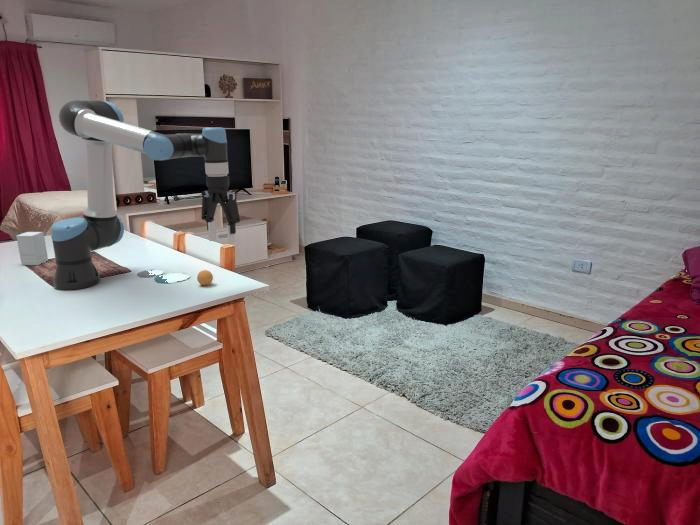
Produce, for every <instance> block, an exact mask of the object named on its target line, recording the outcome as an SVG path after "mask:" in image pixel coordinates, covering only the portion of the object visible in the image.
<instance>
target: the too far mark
mask: <svg viewBox="0 0 700 525" xmlns="http://www.w3.org/2000/svg"><path fill="white" fill-rule="evenodd" d="M150 270H151V271H152V270H153V269H150ZM149 274H150V273H149V272H148V271H146V270H141V271H139V272H137V273H136V276H137V277H138V276H139V278H154V277H153V276H156V275H155V274H154V275H149ZM151 274H152V273H151ZM156 277H157V276H156Z"/></svg>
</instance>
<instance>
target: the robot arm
mask: <svg viewBox="0 0 700 525" xmlns="http://www.w3.org/2000/svg"><path fill="white" fill-rule="evenodd" d="M58 119H59V120H58V121H59V123H60V126H61V127H62V128H63V130H64V131H66V132H67V133H68V134H71V135H73V136H76V137H79V138H81V139H82V140H83V142H84V143H85V146H86V147H85V148H86V151H85V154H86V184H87V185H86V188H87V189H86V190H87V196H86V197H87V209H85V210H84V211H83V212H82V213H83V214H82V215H83V216H82V217H70V218H64V219H61V220H59V221H56V222H55V223H53V224H52V225H51V227H50V229H51V231H50V232H51V237H50V238H51V240H52V246H53V253H54V259H55V265H56V266H55V271H54V274H53V275H54V276H53V287H54V289H57V290H62V291H72V290H81V289H86V288H90V287H93V286H96V285H98V284H100V282H101V277H100V276H101V275H100V274H99V272H98V270H97V268H96V266H95V264H94V262H93V259H92V252H94V251H97V250H100V249H103V248H108V247H111V246H113V245H116V244H118V243H119V242H120V241H121V240H122V238H123V236H124V233H125V226H124V222H122V219H121V218H120V217H119V216H118V212H117V211H116V210H115V209H114V207H113V206H114V200H113V199H114V197H113V196H114V188H113V187H114V186H113V184H114V183H113V182H114V181H113V180H114V179H113V177H114V176H113V174H114V173H113V170H114V169H113V168H114V167H113V165H114V164H113V145H115V146H120V147H122V148H126V149H129V150H133V151H136V152H138V153H142V154H145V155H146V156H147V157H148V158H149V159H151V160H152V161H162V162H163V161H167V160H172V159H181V158H190V157H192V158H193V157H194V158H195V157H196V158H197V157H200V158H202V157H203V158H204V169H205V174H206V176H205V182H206V183H205V184H206V187H207V188H208V189H207V190H203V191H201V192H200V193H201V194H200V195H201V197H202V198H201V200H202V202H201V217H200V218H201V220H203V221H205V222H206V230H207V232H208V241H209V242H212V241H217V234H216V233H217V231H216V229H217V228H216V221H215V219H214V217H215V214H216V210H217V207H218V204H219V205H220V207H221V208H222V209H223V213H224V215H225V217H226V221H227V224H226V231H227V232H226V233H227V244H228V245H231V244H234V243H236V236H235V234H236V232H237V230H236V224H238V223H240V222H241V219H240V213H239V212H240V211H239V208H238V204H237V203H238V202H237V193H236V192H235V193H233V192H230V189H229V187H230V176H229V174H230V173H229V160H228V159H229V158H228V140H227V133H226V129H225V128H224V127H203V128H202V130H201V131H202V132H201V133H190V132H189V133H186V132H181V133H175V134H173V133H172V134H163V133H160V132H157V131H153V130H150V129H147V128H143V127H140V126H137V125H133V124H130V123H126V122H125V118H124V116H123V113H122V111H121V110H120V109H119V108H118V106H117V105H116V104H114V103H113V102H111V101H106V100H82V99H81V100H79V99H78V100H70V101H68V102H66V103H64V105H63V106H62V107H61V108H60V110H59V113H58Z"/></svg>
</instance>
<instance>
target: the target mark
mask: <svg viewBox="0 0 700 525" xmlns="http://www.w3.org/2000/svg"><path fill="white" fill-rule="evenodd" d="M162 278H163V276H161V277H159V276H158V277H157V276H156V277H154V280H155V281H156V283H158V282H160V283H159V284H169V283H168V282H167V281H166V280H167V279H162ZM154 280H153V281H154ZM155 281H154V282H155ZM165 281H166V282H165Z"/></svg>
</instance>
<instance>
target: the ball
mask: <svg viewBox="0 0 700 525" xmlns="http://www.w3.org/2000/svg"><path fill="white" fill-rule="evenodd" d="M196 279H197V282H198V283H199V284H200V285H201V286H209V285H210V284H212V282H213V279H214V276H213V274H212V272H211V271H209V270H207V269H203V270H200V271H199V272H198V273H197V277H196Z"/></svg>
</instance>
